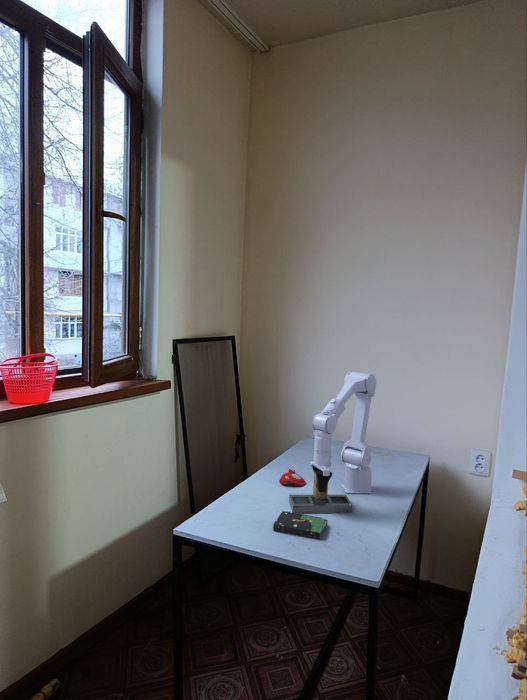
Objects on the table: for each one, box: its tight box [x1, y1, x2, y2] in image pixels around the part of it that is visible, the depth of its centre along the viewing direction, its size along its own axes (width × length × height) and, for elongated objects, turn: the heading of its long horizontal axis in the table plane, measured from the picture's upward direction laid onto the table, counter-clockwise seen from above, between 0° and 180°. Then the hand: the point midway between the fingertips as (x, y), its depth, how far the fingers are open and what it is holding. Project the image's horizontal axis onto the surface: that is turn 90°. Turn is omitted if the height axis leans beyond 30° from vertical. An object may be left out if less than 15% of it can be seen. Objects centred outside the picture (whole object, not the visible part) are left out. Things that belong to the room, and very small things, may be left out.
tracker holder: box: [278, 467, 306, 487], centre depth 187 cm, size 13×5×10 cm
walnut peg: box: [312, 471, 329, 499], centre depth 164 cm, size 4×4×8 cm
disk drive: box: [272, 510, 329, 541], centre depth 149 cm, size 10×3×15 cm
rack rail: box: [288, 494, 354, 514], centre depth 164 cm, size 20×9×2 cm, turn 95°
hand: (320, 489), depth 164 cm, fingers closed on walnut peg, 4 cm apart
